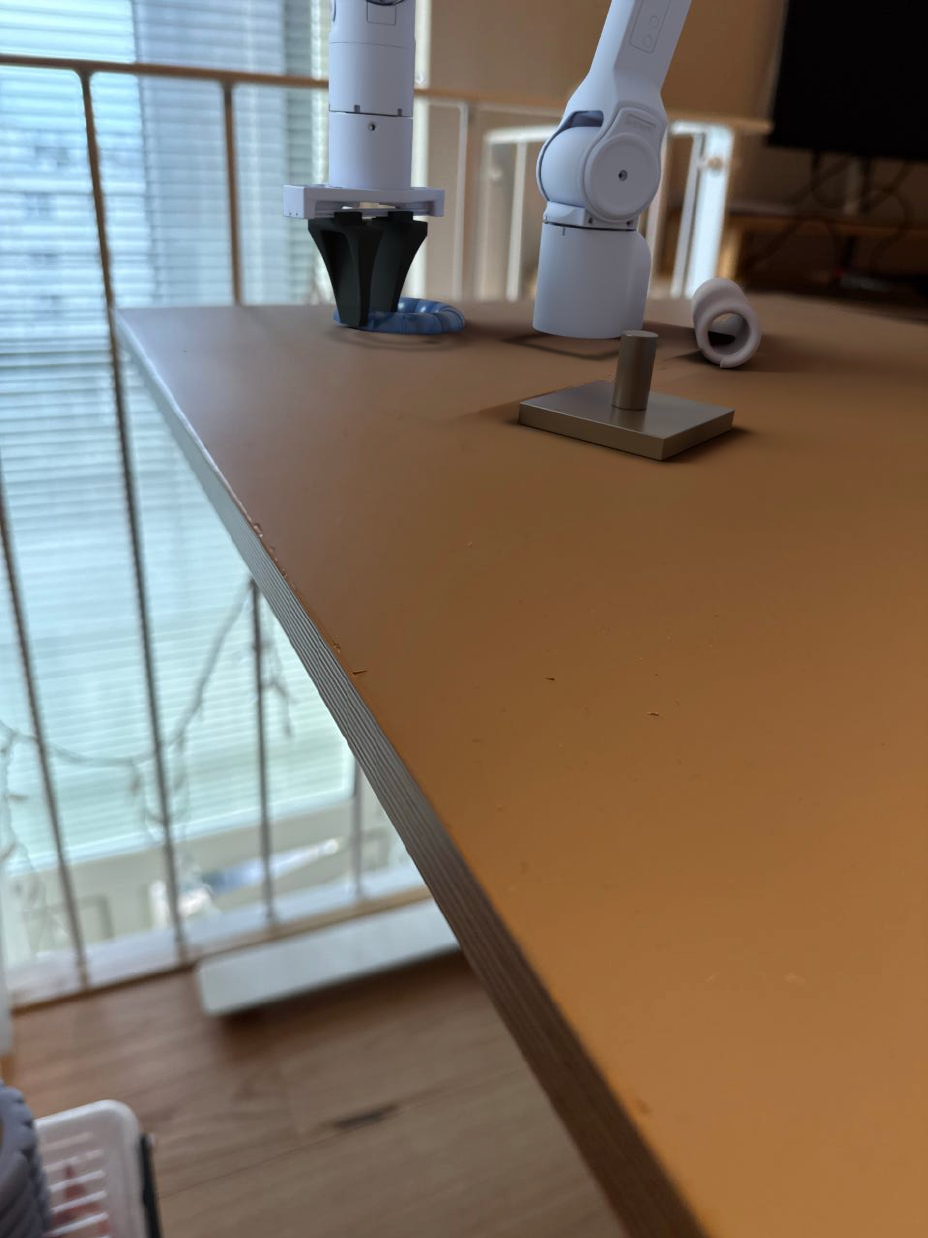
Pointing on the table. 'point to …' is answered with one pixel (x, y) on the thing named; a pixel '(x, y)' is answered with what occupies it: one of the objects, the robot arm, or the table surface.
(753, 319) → the coil
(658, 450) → the peg stand
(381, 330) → the blue segmented ring
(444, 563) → the table surface
